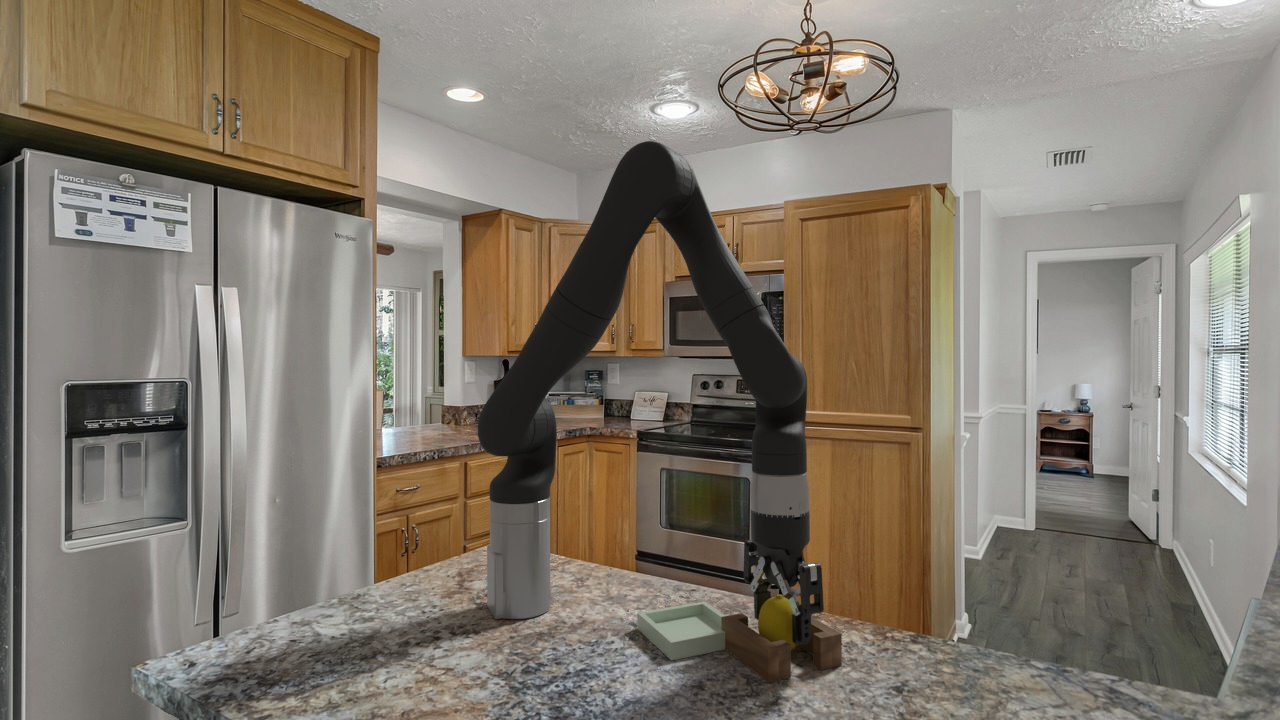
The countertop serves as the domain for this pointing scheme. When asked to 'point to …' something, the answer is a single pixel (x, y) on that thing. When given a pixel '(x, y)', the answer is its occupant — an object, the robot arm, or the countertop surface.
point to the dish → (684, 629)
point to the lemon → (776, 620)
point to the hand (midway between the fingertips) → (781, 630)
